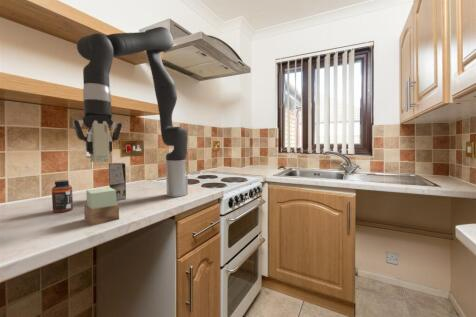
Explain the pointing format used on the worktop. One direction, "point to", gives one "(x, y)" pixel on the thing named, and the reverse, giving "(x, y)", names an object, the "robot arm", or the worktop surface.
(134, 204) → the worktop surface
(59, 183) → the supplement bottle
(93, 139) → the skincare box
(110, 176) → the coffee box
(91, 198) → the green block
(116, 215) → the walnut block
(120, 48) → the robot arm
